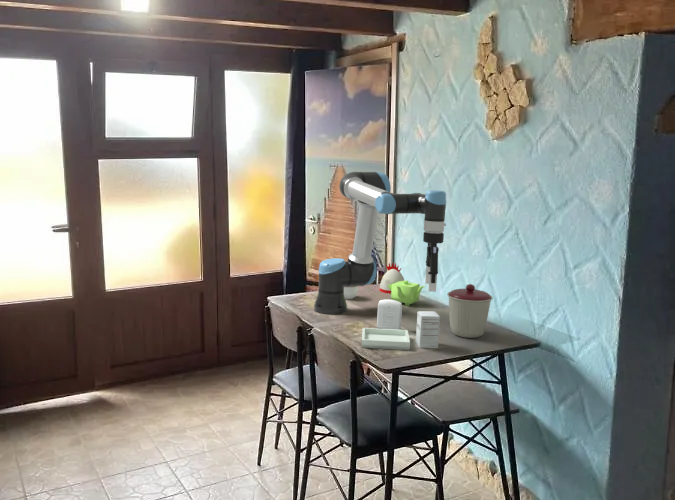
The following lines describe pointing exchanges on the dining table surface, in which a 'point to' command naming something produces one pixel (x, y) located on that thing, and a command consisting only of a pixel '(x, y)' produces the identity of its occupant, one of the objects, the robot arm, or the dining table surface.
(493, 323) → the dining table surface
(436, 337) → the supplement box
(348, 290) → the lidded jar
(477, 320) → the canister
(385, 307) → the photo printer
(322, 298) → the robot arm
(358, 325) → the dining table surface
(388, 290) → the kitchen timer
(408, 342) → the tray
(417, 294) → the kettle
